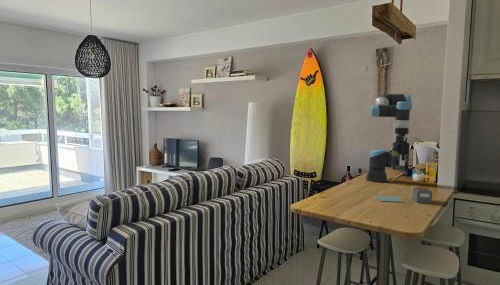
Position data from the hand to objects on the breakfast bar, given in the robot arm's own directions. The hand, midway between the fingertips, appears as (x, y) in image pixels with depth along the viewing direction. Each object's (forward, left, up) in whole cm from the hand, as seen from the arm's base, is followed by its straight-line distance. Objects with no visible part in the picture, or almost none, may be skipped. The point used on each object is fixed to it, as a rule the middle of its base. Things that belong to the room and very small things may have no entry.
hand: (399, 164), depth 206 cm
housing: (+8, +11, -20) cm, 24 cm away
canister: (0, 0, -4) cm, 4 cm away
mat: (+8, -7, -20) cm, 23 cm away
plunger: (+8, +11, -19) cm, 24 cm away
